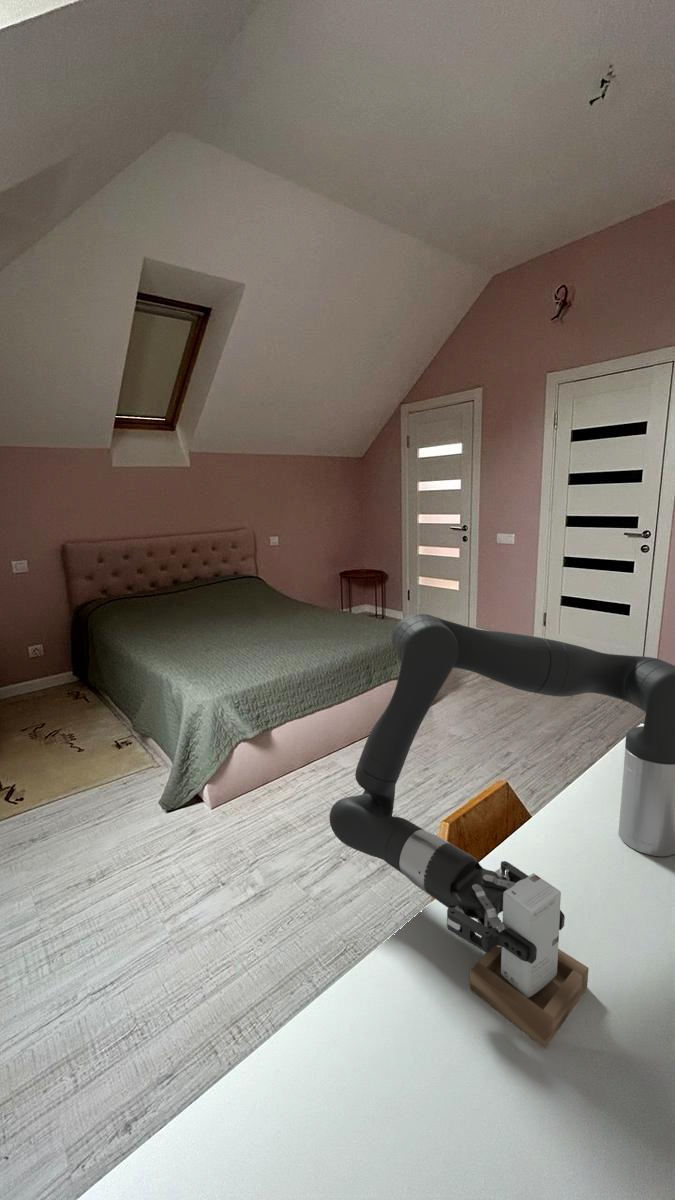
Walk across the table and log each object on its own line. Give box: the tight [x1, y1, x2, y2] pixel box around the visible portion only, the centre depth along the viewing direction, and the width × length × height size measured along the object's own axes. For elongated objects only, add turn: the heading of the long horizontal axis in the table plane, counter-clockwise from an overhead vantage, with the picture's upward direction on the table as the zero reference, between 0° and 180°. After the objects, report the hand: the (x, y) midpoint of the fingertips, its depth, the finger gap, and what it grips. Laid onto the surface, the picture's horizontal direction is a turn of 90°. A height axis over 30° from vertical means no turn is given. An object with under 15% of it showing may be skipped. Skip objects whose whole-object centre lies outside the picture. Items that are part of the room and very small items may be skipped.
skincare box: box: [501, 873, 562, 998], centre depth 64 cm, size 6×4×12 cm
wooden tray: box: [469, 946, 590, 1050], centre depth 65 cm, size 11×10×3 cm
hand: (549, 938), depth 62 cm, fingers closed on skincare box, 6 cm apart
